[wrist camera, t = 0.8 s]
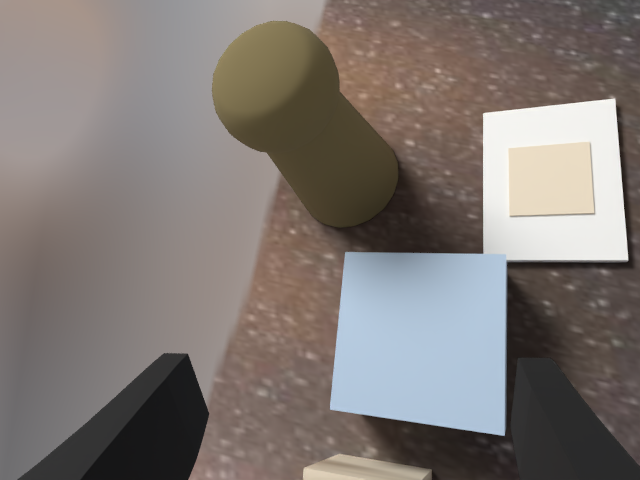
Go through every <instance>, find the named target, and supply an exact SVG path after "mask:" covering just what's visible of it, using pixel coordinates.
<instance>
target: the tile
mask: <svg viewBox="0 0 640 480" xmlns="http://www.w3.org/2000/svg"><path fill="white" fill-rule="evenodd" d="M483 254H506V260H507V262H627V261H628V250H627V237H626V225H625V213H624V201H623V189H622V177H621V165H620V153H619V141H618V128H617V116H616V104H615V99H608V100H599V101H590V102H581V103H572V104H563V105H554V106H544V107H535V108H526V109H517V110H508V111H499V112H490V113H483Z"/></svg>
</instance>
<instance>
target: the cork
mask: <svg viewBox="0 0 640 480" xmlns="http://www.w3.org/2000/svg"><path fill="white" fill-rule="evenodd" d="M339 83H340V82H339V75H338V70H337V67H336V65H335V62H334V59H333V57H332V55H331V53H330V51H329V49H328V47H327V46H326V45H325V44H324V43H323V42H322V41H321V40H320V39H319V38H318V37H317V36H316V35H315V34H314V33H313V32H312V31H310V30H309V29H307V28H305V27H302V26H300V25H297V24H295V23H291V22H287V21H270V22H267V23H263V24H259V25H256V26H254V27H253V28H251V29H249V30H247V31H246V32H244V33H242V34H241V35H240V36H239V37H238V38H237V39H235V40H234V41H233V42H232V43H231V44H230V45H229V46H228V48H227V49H226V51H225V52H224V53H223V55H222V56H221V58H220V59H219V61H218V64H217V66H216V69H215V71H214V74H213V83H212V96H213V101H214V106H215V110H216V113H217V115H218V117H219V119H220V120H221V122H222V123H223V125H224V126H225V128H226V129H227V130H228V132H229V133H230V134H231V135H232V136H233V137H234V138H236V139H237V140H239V141H240V142H242V143H243V144H245V145H246V146H248V147H250V148H252V149H255V150H257V151H260V152H266V153H267V154H268V155H269V156H270V158H271V159H272V161H273V162H274V163H275V165H276V166H277V168H278V169H279V171H280V172H281V173H282V175H283V176H284V178H285V179H286V180H287V182H288V183H289V185H290V186H291V187H292V189H293V190H294V192H295V193H296V195H297V196H298V197H299V199H300V200H301V202H302V203H303V204H304V206H305V207H306V209H307V210H308V211H309V213H310V214H311V215H312V217H314V218H316V219H317V220H319V221H320V222H322V223H323V224H326V225H330V226H334V227H339V228H340V227H350V226H356V225H359V224H361V223H363V222H366V221H368V220H371V219H372V218H373V217H374V216H375V215H377V214H378V213H379V212H380V211H382V210H383V209H384V208H385V206H386V205H387V203H388V202H389V200H390V199H391V198H392V196H393V195H394V191H395V188H396V185H397V182H398V162H397V160H396V157H395V154H394V152H393V150H392V148H391V147H390V146H389V145H388V144H387V143H386V142H385V141H384V140H383V139H382V137H381V136H380V135H379V134H378V133H377V132H376V131H375V130H374V129H373V128H372V126H371V125H370V124H369V123H368V122H367V121H366V120H365V119H364V118H363V117H362V115H361V114H360V113H359V112H358V111H357V110H356V109H355V108H354V107H353V106H352V104H351V103H350V102H349V101H348V100H347V99H346V98H345V97H344V96H343V95H342V93H341V92H340V91H339Z"/></svg>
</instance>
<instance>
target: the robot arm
mask: <svg viewBox="0 0 640 480" xmlns="http://www.w3.org/2000/svg"><path fill="white" fill-rule="evenodd" d="M208 417H209V412H208V409H207V406H206V404H205V401H204V398H203V395H202V392H201V389H200V387H199V384H198V381H197V378H196V375H195V372H194V370H193V367H192V364H191V361H190V359H189V356H188V354H175V353H174V354H172V353H170V354H169V353H166V354H165V353H164V354H163V355H161V356H160V357H159V358H158V359H157V360H155V361H154V362H153V363H152V364H151V365H150V366H149V367H148V368H146V369H145V370H144V371H143V372H142V373H141V374H140V375H139V376H138V377H137V378H135V379H134V380H133V381H132V382H131V383H130V384H129V385H128V386H127V387H126V388H125V389H123V390H122V391H121V392H120V393H119V394H118V395H117V396H116V397H115V398H114V399H112V400H111V401H110V402H109V403H108V404H107V405H106V406H105V407H104V408H102V409H101V410H100V411H99V412H98V413H97V414H96V415H95V416H94V417H92V418H91V420H89V421H88V422H87V423H86V424H85V425H83V427H81V428H80V429H79V430H78V431H76V432H75V433H74V434H73V435H72V436H70V437H69V438H68V439H67V440H66V441H65V442H63V443H62V444H61V445H60V446H58V447H57V448H56V449H55V450H54V451H52V452H51V453H50V454H49V455H48V456H47V457H46V458H44V459H43V460H42V461H41V462H40V463H38V464H37V465H36V466H34V467H33V468H32V469H31V470H29V471H28V472H27V473H25V474H24V475H23V476H22V477H20V478H19V479H18V480H188V479H189V477H190V474H191V472H192V469H193V467H194V464H195V462H196V459H197V456H198V453H199V449H200V446H201V443H202V439H203V436H204V432H205V428H206V424H207V421H208ZM510 426H511V432H512V438H513V444H514V450H515V456H516V461H517V467H518V472H519V477H520V480H640V466H639V465H638V464H637V463H636V462H635V461H634V459H633V458H632V457H631V456H630V455H629V454H628V453H627V451H626V450H625V449H624V448H623V447H622V446H621V444H620V443H619V442H618V441H617V440H616V439H615V437H614V436H613V435H612V434H611V433H610V432H609V430H608V429H607V428H606V427H605V426H604V424H603V423H602V422H601V421H600V420H599V418H598V417H597V416H596V415H595V413H594V412H593V411H592V410H591V408H590V407H589V406H588V405H587V403H586V402H585V401H584V400H583V398H582V397H581V396H580V395H579V393H578V392H577V391H576V389H575V388H574V387H573V385H572V384H571V383H570V382H569V380H568V379H567V378H566V376H565V375H564V373H563V372H562V371H561V369H560V368H559V367H558V365H557V364H556V363H555V362H554V361H553V360H552V359H551V358H518V362H517V371H516V380H515V389H514V398H513V407H512V416H511V425H510Z"/></svg>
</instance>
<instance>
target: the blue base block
mask: <svg viewBox="0 0 640 480" xmlns="http://www.w3.org/2000/svg"><path fill="white" fill-rule="evenodd" d="M506 386H507V260H506V254H449V253H377V252H345V261H344V271H343V281H342V291H341V301H340V312H339V322H338V332H337V342H336V352H335V362H334V373H333V383H332V393H331V403H330V410H337V411H343V412H350V413H356V414H363V415H370V416H376V417H383V418H389V419H396V420H403V421H409V422H416V423H422V424H429V425H436V426H442V427H449V428H455V429H462V430H469V431H475V432H482V433H489V434H495V435H502V436H505V431H506Z"/></svg>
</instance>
